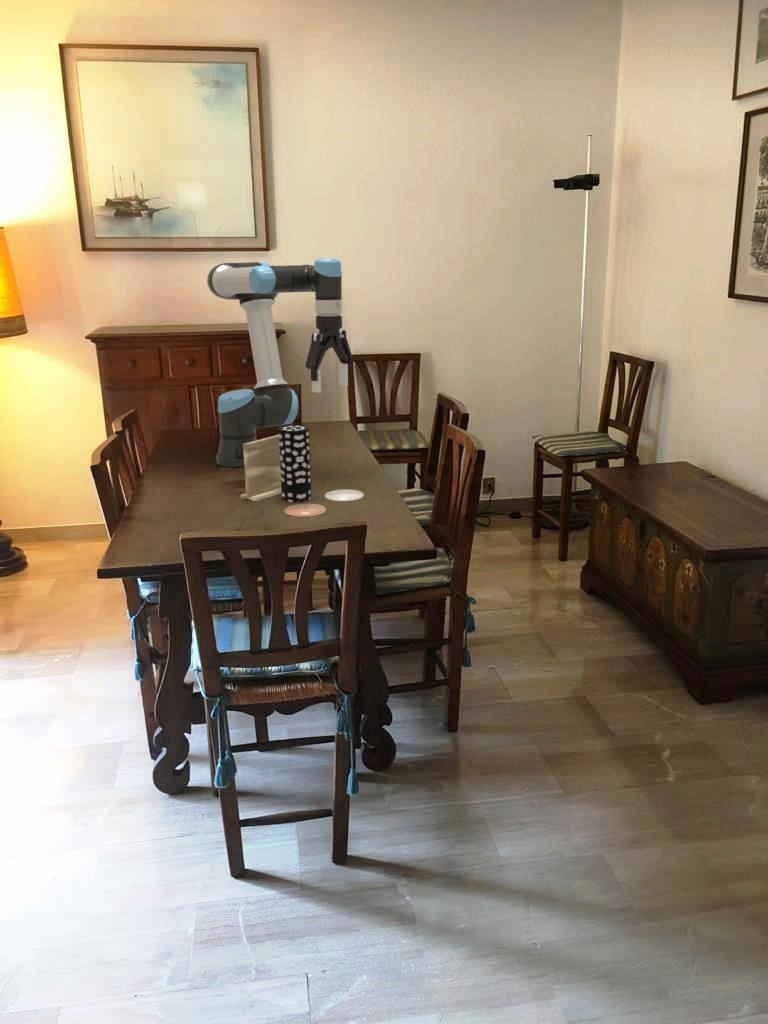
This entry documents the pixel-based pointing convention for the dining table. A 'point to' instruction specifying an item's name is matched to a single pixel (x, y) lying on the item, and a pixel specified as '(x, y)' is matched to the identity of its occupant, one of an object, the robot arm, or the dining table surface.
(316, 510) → the pink round disc
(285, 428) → the spotted tube
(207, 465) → the dining table surface
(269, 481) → the birch shelf
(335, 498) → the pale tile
